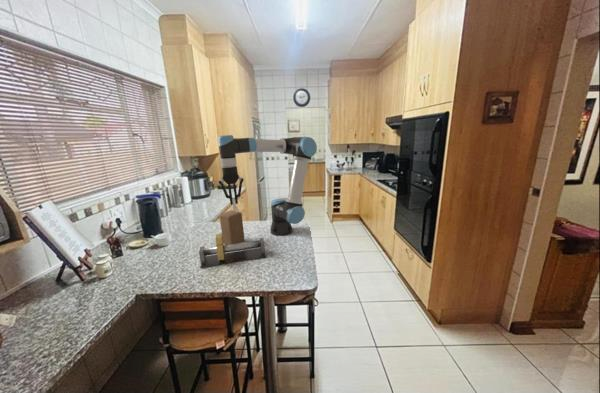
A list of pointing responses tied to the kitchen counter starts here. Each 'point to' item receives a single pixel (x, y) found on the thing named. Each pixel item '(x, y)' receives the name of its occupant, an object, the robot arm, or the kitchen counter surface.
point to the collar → (219, 246)
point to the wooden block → (232, 227)
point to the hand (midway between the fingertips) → (235, 209)
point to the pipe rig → (233, 253)
